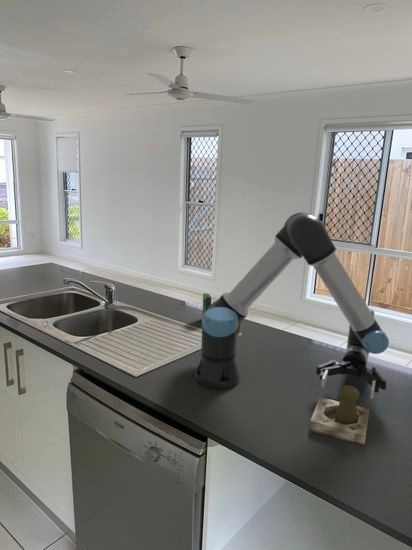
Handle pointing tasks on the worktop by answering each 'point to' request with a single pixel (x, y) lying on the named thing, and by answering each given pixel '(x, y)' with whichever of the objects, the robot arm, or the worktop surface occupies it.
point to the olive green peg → (347, 405)
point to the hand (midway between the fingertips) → (346, 388)
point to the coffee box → (206, 302)
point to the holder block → (326, 425)
